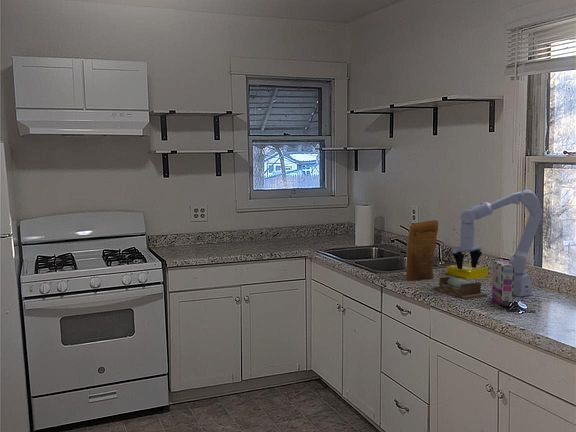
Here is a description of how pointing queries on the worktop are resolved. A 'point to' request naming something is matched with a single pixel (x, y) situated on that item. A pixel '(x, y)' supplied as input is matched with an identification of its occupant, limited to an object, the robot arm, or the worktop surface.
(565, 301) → the worktop surface
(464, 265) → the element tile
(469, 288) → the roll cradle
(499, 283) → the candy bar box
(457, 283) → the paper roll
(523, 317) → the worktop surface
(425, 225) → the pancake mix bag
